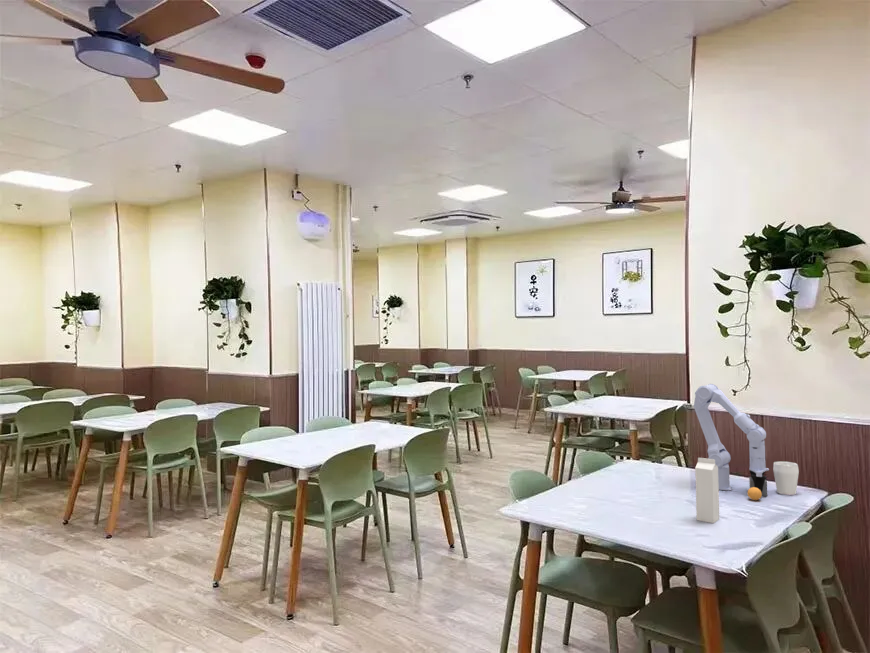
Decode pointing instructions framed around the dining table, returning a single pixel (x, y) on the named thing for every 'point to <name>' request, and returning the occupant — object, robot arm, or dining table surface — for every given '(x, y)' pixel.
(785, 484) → the cup
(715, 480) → the milk
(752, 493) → the ball
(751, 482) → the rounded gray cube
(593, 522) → the dining table surface
